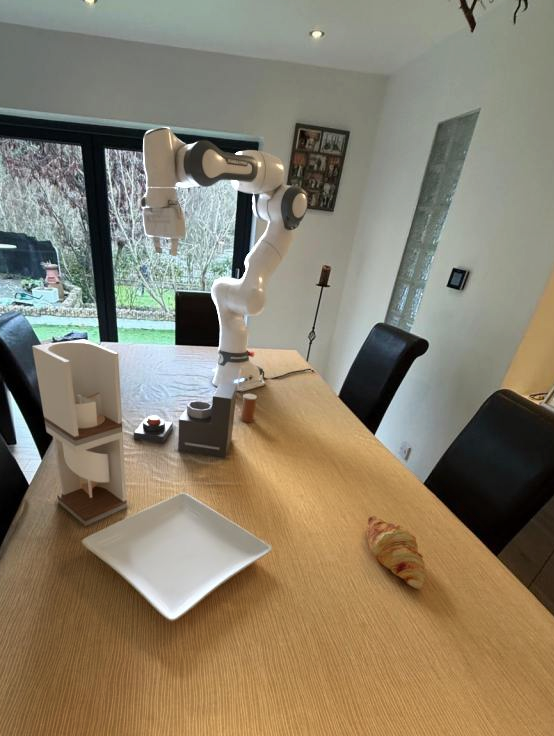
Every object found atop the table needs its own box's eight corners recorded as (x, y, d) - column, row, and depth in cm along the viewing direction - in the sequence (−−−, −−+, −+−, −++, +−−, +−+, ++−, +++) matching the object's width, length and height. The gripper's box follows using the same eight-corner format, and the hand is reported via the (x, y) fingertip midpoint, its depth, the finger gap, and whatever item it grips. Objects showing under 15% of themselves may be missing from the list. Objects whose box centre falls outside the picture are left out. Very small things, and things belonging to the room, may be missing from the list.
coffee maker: (187, 434, 130) (189, 377, 120) (231, 440, 129) (237, 384, 119) (177, 451, 120) (179, 391, 110) (225, 459, 119) (231, 399, 109)
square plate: (272, 560, 85) (275, 546, 83) (170, 637, 68) (171, 621, 65) (183, 502, 99) (183, 488, 97) (80, 553, 82) (78, 537, 80)
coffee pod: (248, 416, 147) (251, 392, 142) (256, 421, 144) (259, 397, 139) (237, 418, 144) (240, 394, 139) (246, 423, 141) (249, 399, 136)
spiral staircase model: (58, 502, 95) (32, 345, 76) (98, 486, 102) (84, 339, 82) (85, 525, 89) (64, 361, 70) (126, 507, 96) (118, 353, 76)
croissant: (424, 603, 83) (455, 577, 80) (392, 591, 79) (423, 563, 75) (373, 534, 100) (397, 510, 97) (345, 521, 95) (368, 496, 92)
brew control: (145, 424, 134) (145, 412, 131) (172, 428, 133) (172, 416, 131) (133, 439, 124) (133, 426, 122) (163, 443, 124) (163, 431, 121)
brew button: (149, 419, 128) (149, 414, 127) (161, 421, 128) (161, 416, 127) (146, 424, 125) (146, 419, 124) (157, 426, 125) (157, 420, 124)
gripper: (189, 199, 116) (192, 256, 124) (155, 201, 130) (159, 251, 138) (170, 199, 113) (173, 257, 121) (137, 200, 127) (142, 252, 135)
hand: (166, 254), depth 130 cm, fingers open, 8 cm apart
